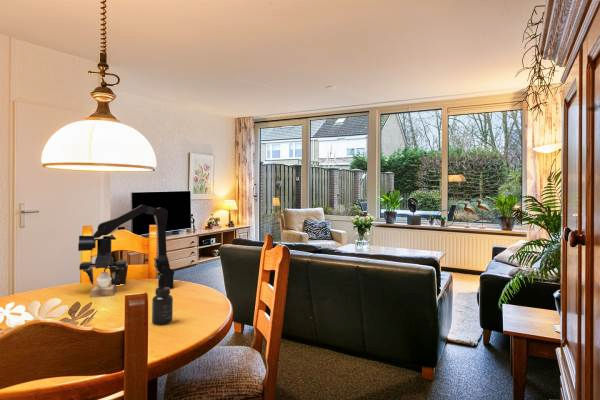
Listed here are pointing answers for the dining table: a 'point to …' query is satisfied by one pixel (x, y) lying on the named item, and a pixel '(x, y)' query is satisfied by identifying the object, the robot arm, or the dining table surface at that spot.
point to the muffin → (104, 280)
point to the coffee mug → (121, 276)
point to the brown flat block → (103, 291)
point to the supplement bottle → (162, 306)
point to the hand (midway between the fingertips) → (103, 283)
